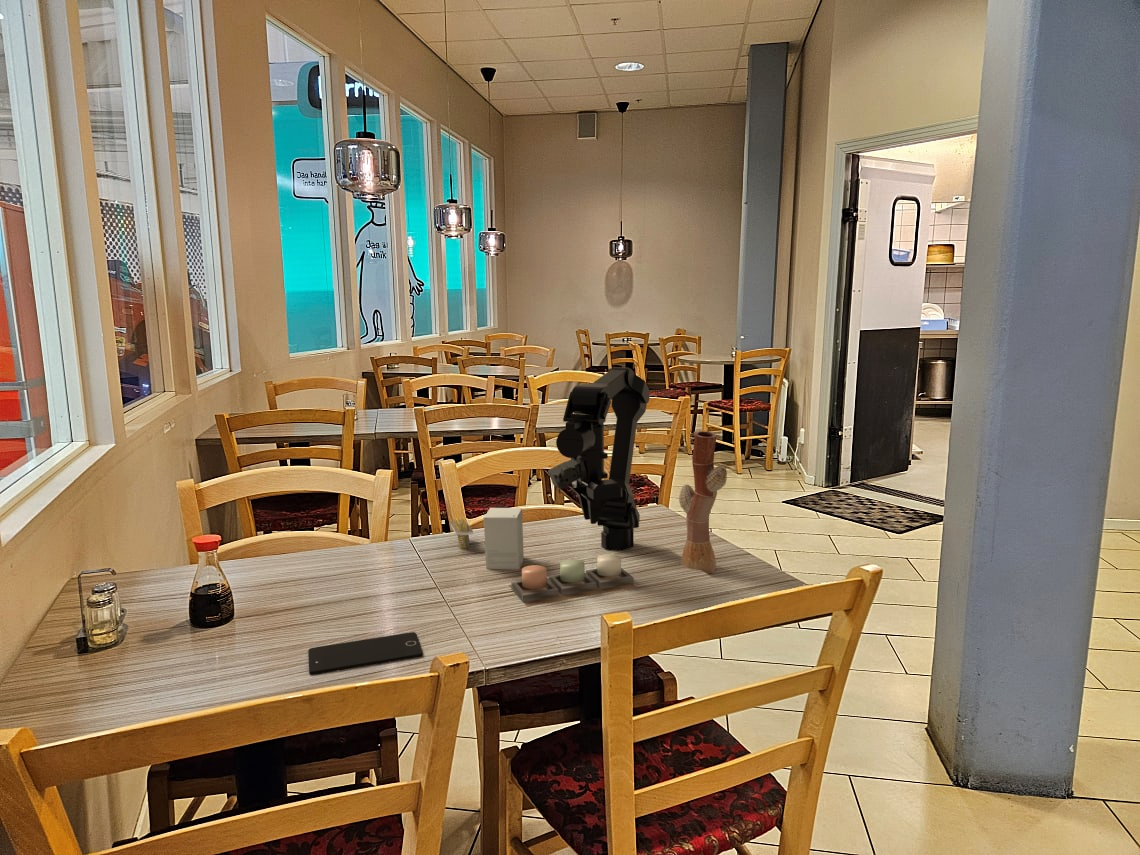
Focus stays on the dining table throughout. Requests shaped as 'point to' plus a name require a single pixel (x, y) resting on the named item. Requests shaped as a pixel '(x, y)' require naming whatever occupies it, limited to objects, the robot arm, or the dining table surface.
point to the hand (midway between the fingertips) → (590, 521)
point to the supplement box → (503, 538)
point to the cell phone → (363, 653)
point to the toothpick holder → (462, 532)
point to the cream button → (609, 565)
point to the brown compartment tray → (572, 587)
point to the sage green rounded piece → (572, 571)
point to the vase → (701, 503)
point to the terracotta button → (534, 577)
